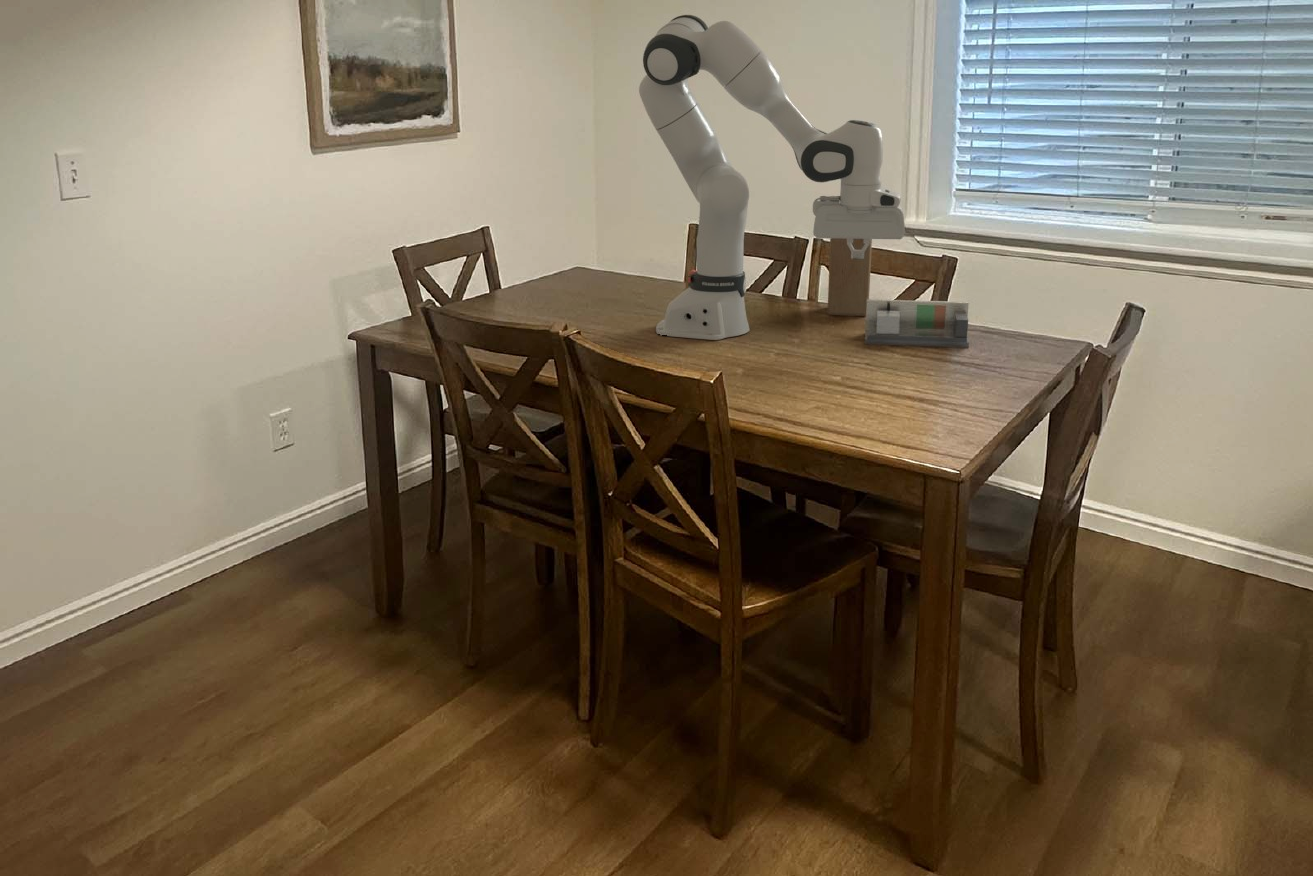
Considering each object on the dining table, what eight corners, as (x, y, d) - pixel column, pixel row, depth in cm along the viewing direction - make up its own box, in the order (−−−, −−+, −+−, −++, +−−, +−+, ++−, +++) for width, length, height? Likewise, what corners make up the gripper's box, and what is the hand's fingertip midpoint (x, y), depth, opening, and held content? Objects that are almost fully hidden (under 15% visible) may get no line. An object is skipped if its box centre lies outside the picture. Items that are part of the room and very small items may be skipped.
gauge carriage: (876, 337, 257) (877, 309, 255) (876, 329, 263) (877, 302, 261) (898, 337, 256) (900, 309, 254) (898, 330, 262) (899, 303, 260)
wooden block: (867, 317, 280) (871, 237, 273) (827, 316, 282) (830, 236, 275) (868, 307, 290) (872, 229, 283) (829, 306, 291) (832, 229, 284)
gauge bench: (864, 344, 257) (866, 309, 254) (865, 333, 266) (866, 299, 263) (968, 347, 253) (971, 311, 250) (965, 335, 262) (968, 301, 259)
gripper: (812, 197, 248) (810, 260, 253) (907, 198, 245) (903, 261, 249) (813, 193, 254) (812, 254, 259) (906, 194, 250) (902, 256, 255)
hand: (857, 258), depth 254 cm, fingers closed
